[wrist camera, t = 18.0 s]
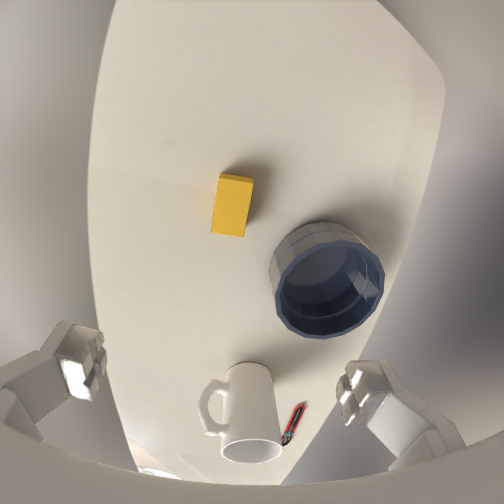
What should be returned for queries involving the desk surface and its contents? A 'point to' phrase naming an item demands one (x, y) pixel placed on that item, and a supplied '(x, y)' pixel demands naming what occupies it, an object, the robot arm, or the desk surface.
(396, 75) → the desk surface
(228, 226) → the sponge
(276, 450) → the mug
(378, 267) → the bowl
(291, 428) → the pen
